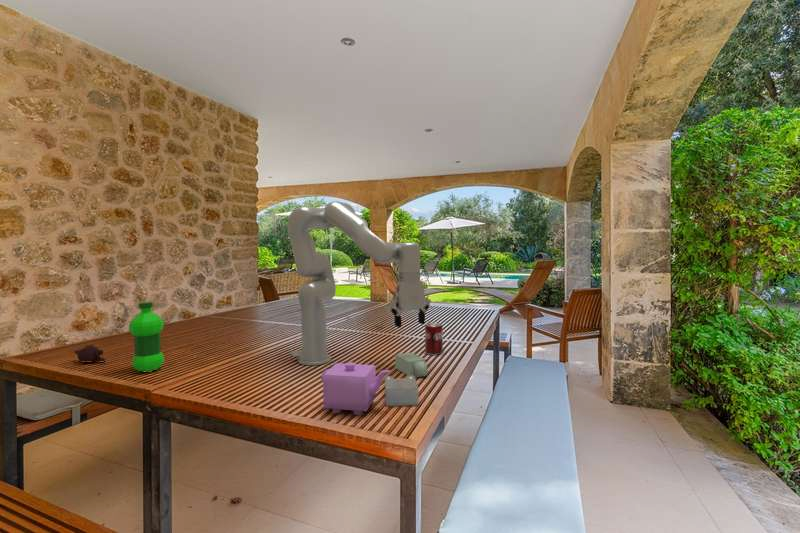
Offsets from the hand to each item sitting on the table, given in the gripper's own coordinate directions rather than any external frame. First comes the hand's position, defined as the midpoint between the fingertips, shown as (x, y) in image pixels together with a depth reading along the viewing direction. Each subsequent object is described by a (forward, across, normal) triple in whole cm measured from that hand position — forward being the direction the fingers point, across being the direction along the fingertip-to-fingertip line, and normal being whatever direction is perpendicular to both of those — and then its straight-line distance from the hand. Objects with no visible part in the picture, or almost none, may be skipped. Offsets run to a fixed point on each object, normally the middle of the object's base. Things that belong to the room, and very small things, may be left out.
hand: (410, 325), depth 138 cm
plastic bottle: (+16, -82, +49) cm, 97 cm away
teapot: (+17, -29, -20) cm, 39 cm away
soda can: (+17, +20, +14) cm, 29 cm away
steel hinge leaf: (+16, -15, -19) cm, 30 cm away
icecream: (+16, -104, +73) cm, 128 cm away
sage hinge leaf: (+17, 0, -2) cm, 17 cm away
